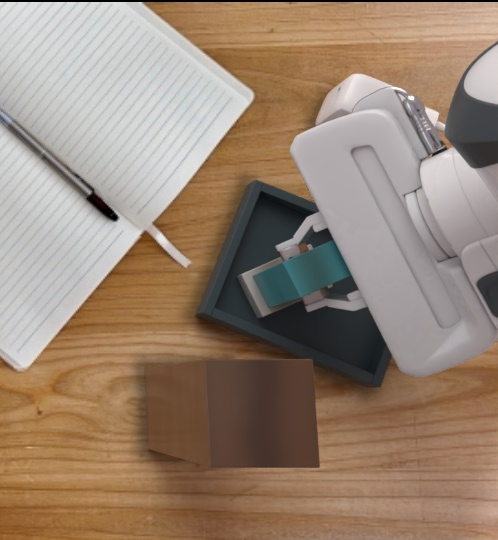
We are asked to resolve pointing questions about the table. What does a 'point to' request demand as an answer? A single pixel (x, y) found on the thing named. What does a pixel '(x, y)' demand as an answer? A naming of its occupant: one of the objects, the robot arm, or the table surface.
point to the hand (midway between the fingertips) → (293, 278)
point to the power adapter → (354, 90)
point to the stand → (234, 412)
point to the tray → (294, 316)
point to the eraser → (292, 278)
